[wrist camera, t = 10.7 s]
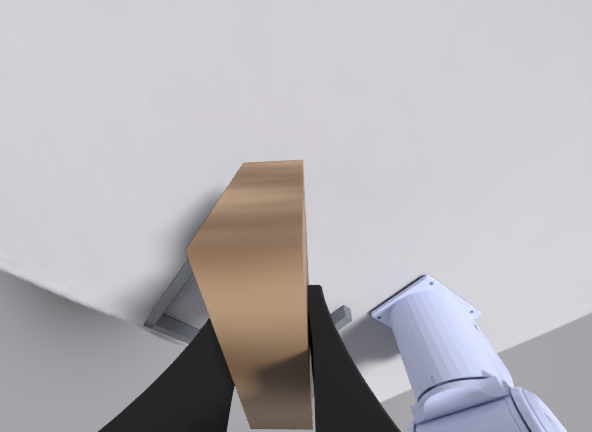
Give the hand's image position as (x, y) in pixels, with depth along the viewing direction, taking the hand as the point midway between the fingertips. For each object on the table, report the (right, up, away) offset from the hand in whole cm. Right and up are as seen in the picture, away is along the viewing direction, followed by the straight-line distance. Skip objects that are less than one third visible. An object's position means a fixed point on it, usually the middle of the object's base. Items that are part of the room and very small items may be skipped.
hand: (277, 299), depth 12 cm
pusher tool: (0, +2, +3) cm, 4 cm away
